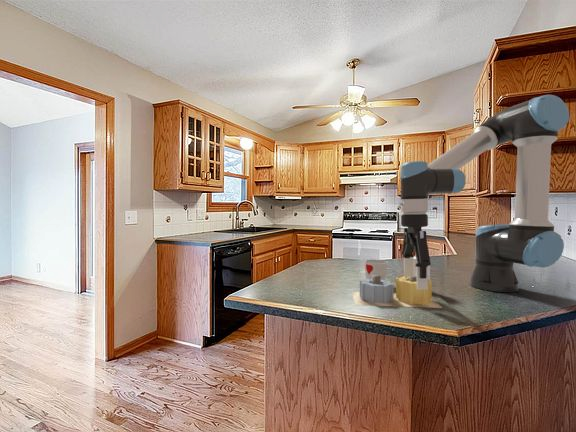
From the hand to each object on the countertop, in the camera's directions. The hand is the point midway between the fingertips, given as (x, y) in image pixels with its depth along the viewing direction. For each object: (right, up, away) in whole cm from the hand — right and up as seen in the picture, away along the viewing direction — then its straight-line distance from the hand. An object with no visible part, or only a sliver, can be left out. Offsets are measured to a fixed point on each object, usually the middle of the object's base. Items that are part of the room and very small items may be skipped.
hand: (414, 283), depth 94 cm
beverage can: (+7, -6, +15) cm, 18 cm away
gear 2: (0, -5, 0) cm, 5 cm away
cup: (-6, -6, +19) cm, 21 cm away
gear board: (-6, -6, +1) cm, 9 cm away
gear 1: (-11, -5, +1) cm, 13 cm away
